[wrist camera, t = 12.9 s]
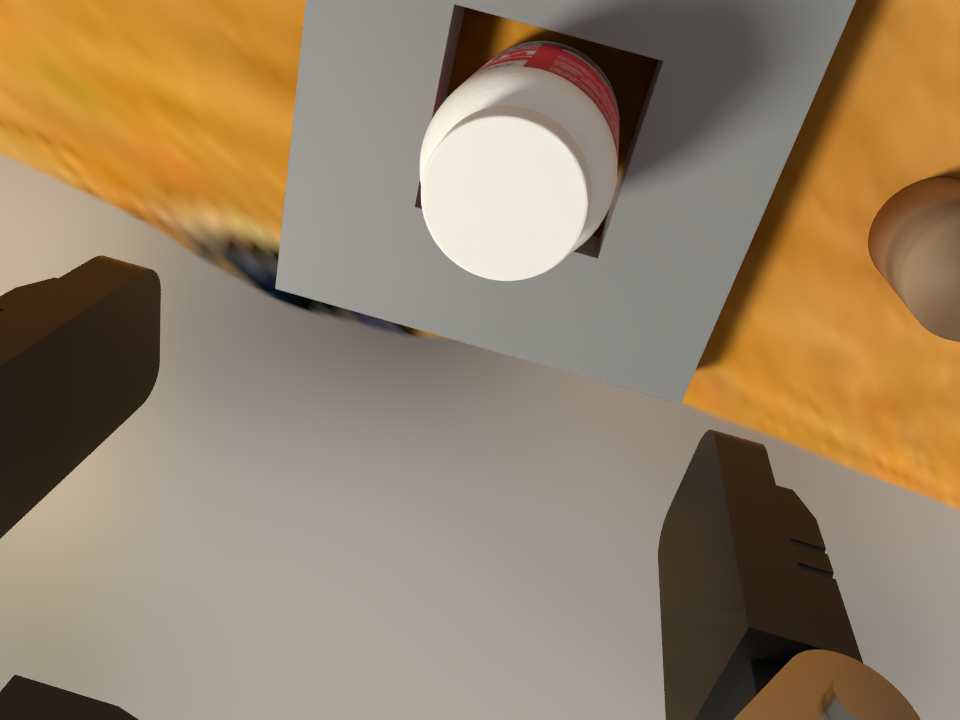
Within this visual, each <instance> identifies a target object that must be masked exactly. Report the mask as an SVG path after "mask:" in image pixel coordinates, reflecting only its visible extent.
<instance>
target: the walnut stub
mask: <svg viewBox="0 0 960 720" xmlns="http://www.w3.org/2000/svg"><path fill="white" fill-rule="evenodd" d="M868 247H869V253H870V256H871V259H872V261H873V263H874V265H875V267H876V268H877V269H878V271H879V272H880V273H881V274H882V276H883V277H884V278H885V279H886V281H887V282H888V283H889V285H890V286H891V287H892V288H893V290H894V291H895V292H896V293H897V295H898V296H899V297H900V299H901V300H902V301H903V302H904V304H905V305H906V306H907V307H908V309H909V310H910V311H911V313H912V314H913V315H914V316H915V318H916V319H917V320H918V321H919V323H920V324H921V325H922V326H923V327H924V328H925V329H927V330H928V331H930V332H931V333H933V334H935V335H937V336H939V337H942V338H944V339H947V340H952V341H958V342H960V179H959V178H954V177H934V178H928V179H925V180H921V181H918V182H915V183H913V184H911V185H909V186H907V187H905V188H903V189H902V190H900V191H899V192H897V193H896V194H895V195H893V196H892V197H891V198H890V199H889V200H888V201H887V202H886V203H885V204H884V205H883V206H882V208H881V209H880V210H879V212H878V213H877V215H876V217H875V218H874V221H873V223H872V225H871V228H870V232H869V238H868Z"/></svg>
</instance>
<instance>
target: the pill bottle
mask: <svg viewBox="0 0 960 720" xmlns="http://www.w3.org/2000/svg"><path fill="white" fill-rule="evenodd" d="M619 131H620V117H619V109H618V104H617V100H616V97H615V94H614V91H613V88H612V86H611V84H610V82H609V80H608V79H607V77H606V75H605V74H604V73H603V71H602V70H601V69H600V67H599V66H598V65H597V64H596V63H595V62H594V61H593V60H591V59H590V58H589V57H588V56H586V55H585V54H583V53H582V52H580V51H579V50H577V49H575V48H573V47H570V46H568V45H565V44H561V43H558V42H552V41H532V42H526V43H521V44H518V45H515V46H513V47H510V48H508V49H506V50H504V51H502V52H500V53H499V54H497V55H496V56H494V57H493V58H492V59H491V60H489V61H488V62H487V63H486V64H485V65H483V66H482V67H481V68H480V69H479V70H478V71H476V72H475V73H474V74H473V75H472V76H471V77H469V78H468V79H467V80H466V81H465V82H464V83H463V84H461V85H460V86H459V87H458V88H457V89H456V90H454V91H453V92H452V93H451V94H450V95H449V96H448V98H447V99H446V100H445V101H444V102H443V104H442V105H441V106H440V108H439V109H438V110H437V112H436V113H435V115H434V117H433V118H432V120H431V122H430V124H429V126H428V129H427V131H426V134H425V136H424V140H423V143H422V148H421V154H420V182H421V205H422V211H423V215H424V219H425V222H426V225H427V227H428V230H429V232H430V234H431V236H432V238H433V239H434V241H435V242H436V244H437V245H438V246H439V248H440V249H441V250H442V251H443V253H444V254H445V255H446V256H447V257H448V258H449V259H451V260H452V261H453V262H455V263H456V264H457V265H458V266H460V267H461V268H463V269H465V270H466V271H468V272H470V273H472V274H475V275H478V276H480V277H484V278H487V279H492V280H498V281H515V280H523V279H527V278H531V277H534V276H537V275H539V274H542V273H544V272H546V271H548V270H549V269H551V268H553V267H554V266H556V265H557V264H558V263H560V262H561V261H562V260H563V259H564V258H565V257H566V256H567V255H569V254H570V253H572V252H573V251H574V250H576V249H577V248H579V247H580V246H581V245H582V244H584V243H585V242H586V241H587V240H588V239H589V238H590V237H591V236H592V234H593V233H594V232H595V231H596V230H597V228H598V227H599V225H600V224H601V223H602V221H603V219H604V217H605V216H606V214H607V212H608V210H609V207H610V205H611V202H612V199H613V196H614V192H615V187H616V183H617V177H618V156H619Z"/></svg>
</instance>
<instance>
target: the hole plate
mask: <svg viewBox="0 0 960 720" xmlns="http://www.w3.org/2000/svg"><path fill="white" fill-rule="evenodd" d="M855 2H856V0H306V6H305V15H304V24H303V34H302V43H301V53H300V62H299V71H298V81H297V90H296V100H295V109H294V119H293V128H292V137H291V147H290V156H289V166H288V175H287V184H286V194H285V203H284V213H283V222H282V231H281V241H280V250H279V260H278V269H277V279H276V288H275V289H279V290H282V291H286V292H289V293H293V294H296V295H300V296H303V297H307V298H310V299H313V300H317V301H320V302H324V303H327V304H331V305H334V306H338V307H341V308H345V309H348V310H352V311H355V312H359V313H362V314H366V315H369V316H373V317H376V318H380V319H383V320H387V321H390V322H394V323H397V324H401V325H404V326H408V327H411V328H415V329H418V330H422V331H425V332H429V333H432V334H436V335H439V336H443V337H446V338H450V339H453V340H457V341H461V342H464V343H467V344H471V345H474V346H478V347H481V348H485V349H488V350H492V351H495V352H499V353H502V354H506V355H509V356H513V357H516V358H520V359H523V360H527V361H530V362H534V363H537V364H541V365H544V366H548V367H551V368H555V369H558V370H562V371H565V372H569V373H572V374H576V375H579V376H583V377H586V378H590V379H593V380H597V381H600V382H604V383H607V384H611V385H614V386H618V387H621V388H625V389H628V390H632V391H635V392H639V393H642V394H645V395H649V396H652V397H656V398H659V399H663V400H666V401H670V402H673V403H677V404H681V402H682V400H683V397H684V395H685V393H686V391H687V388H688V386H689V384H690V381H691V379H692V377H693V375H694V372H695V370H696V368H697V365H698V363H699V361H700V358H701V356H702V354H703V352H704V349H705V347H706V345H707V342H708V340H709V338H710V335H711V333H712V331H713V329H714V326H715V324H716V322H717V319H718V317H719V315H720V312H721V310H722V308H723V306H724V303H725V301H726V299H727V296H728V294H729V292H730V289H731V287H732V285H733V283H734V280H735V278H736V276H737V273H738V271H739V269H740V266H741V264H742V262H743V260H744V257H745V255H746V253H747V250H748V248H749V246H750V244H751V241H752V239H753V237H754V234H755V232H756V230H757V227H758V225H759V223H760V221H761V218H762V216H763V214H764V211H765V209H766V207H767V204H768V202H769V200H770V198H771V195H772V193H773V191H774V188H775V186H776V184H777V181H778V179H779V177H780V175H781V172H782V170H783V168H784V165H785V163H786V161H787V158H788V156H789V154H790V152H791V149H792V147H793V145H794V142H795V140H796V138H797V135H798V133H799V131H800V129H801V126H802V124H803V122H804V119H805V117H806V115H807V113H808V110H809V108H810V106H811V103H812V101H813V99H814V96H815V94H816V92H817V90H818V87H819V85H820V83H821V80H822V78H823V76H824V73H825V71H826V69H827V67H828V64H829V62H830V60H831V57H832V55H833V53H834V50H835V48H836V46H837V44H838V41H839V39H840V37H841V34H842V32H843V30H844V27H845V25H846V23H847V21H848V18H849V16H850V14H851V11H852V9H853V7H854V4H855ZM465 7H467V8H470V9H474V10H478V11H481V12H485V13H489V14H492V15H496V16H500V17H503V18H507V19H511V20H514V21H518V22H522V23H525V24H529V25H533V26H536V27H540V28H544V29H548V30H551V31H555V32H559V33H562V34H566V35H570V36H573V37H577V38H581V39H584V40H588V41H592V42H595V43H599V44H603V45H606V46H610V47H614V48H617V49H621V50H625V51H628V52H632V53H636V54H639V55H643V56H647V57H650V58H654V59H658V62H657V65H656V68H655V71H654V74H653V77H652V80H651V83H650V86H649V89H648V92H647V95H646V98H645V101H644V104H643V107H642V110H641V113H640V116H639V119H638V122H637V125H636V129H635V132H634V135H633V138H632V141H631V144H630V147H629V150H628V153H627V156H626V159H625V162H624V165H623V168H622V171H621V174H620V177H619V180H618V183H617V186H616V189H615V192H614V196H613V199H612V202H611V205H610V208H609V211H608V214H607V217H606V220H605V223H604V226H603V229H602V232H601V235H600V238H599V237H596V236H591V237H590V238H589V239H588V240H587V241H586V242H585V243H584V244H582V245H581V246H580V247H579V248H577V249H576V250H574V251H573V252H572V253H570V254H569V255H567V256H566V257H565V258H564V259H563V260H562V261H561V262H560V263H558V264H557V265H556V266H554V267H553V268H551V269H549V270H548V271H546V272H544V273H542V274H539V275H537V276H534V277H531V278H527V279H523V280H515V281H498V280H492V279H487V278H484V277H480V276H478V275H475V274H472V273H470V272H468V271H466V270H465V269H463V268H461V267H460V266H458V265H457V264H456V263H455V262H453V261H452V260H451V259H449V258H448V257H447V256H446V255H445V254H444V253H443V251H442V250H441V249H440V248H439V246H438V245H437V244H436V242H435V241H434V239H433V238H432V236H431V234H430V232H429V230H428V227H427V225H426V222H425V219H424V215H423V211H422V205H421V182H420V154H421V148H422V143H423V140H424V136H425V134H426V131H427V129H428V126H429V124H430V122H431V120H432V118H433V117H434V115H435V113H436V112H437V110H438V109H439V108H440V106H441V105H442V104H443V102H444V101H445V100H446V99H447V96H448V91H449V86H450V81H451V76H452V71H453V66H454V61H455V56H456V51H457V46H458V41H459V37H460V32H461V27H462V22H463V17H464V12H465Z"/></svg>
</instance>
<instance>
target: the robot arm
mask: <svg viewBox="0 0 960 720" xmlns="http://www.w3.org/2000/svg"><path fill="white" fill-rule="evenodd" d="M160 295H161V286H160V280H159V277H158V275H157V273H156V272H155V271H154V270H151V269H148V268H145V267H141V266H138V265H134V264H130V263H127V262H124V261H120V260H116V259H113V258H109V257H106V256H97V257H95V258H93V259H91V260H89V261H87V262H86V263H84V264H82V265H81V266H79V267H77V268H75V269H74V270H72V271H71V272H69V273H67V274H65V275H63V276H62V277H60V278H52V279H48V280H44V281H40V282H36V283H32V284H28V285H25V286H21V287H17V288H14V289H13V290H11V291H9V292H7V293H5V294H4V295H2V296H0V538H1V537H2V536H4V535H5V534H6V533H7V532H8V531H9V530H10V529H11V528H12V527H13V526H14V525H15V524H16V523H17V522H18V521H19V520H21V519H22V518H23V516H25V515H26V514H27V513H28V512H29V511H30V510H31V509H32V508H33V507H34V506H35V505H36V504H37V503H38V502H40V501H41V500H42V499H43V498H44V497H45V496H46V495H47V494H48V493H49V492H50V491H51V490H52V489H53V488H54V487H56V486H57V484H59V483H60V482H61V481H62V480H63V479H64V478H65V477H66V476H67V475H68V474H69V473H70V472H72V471H73V470H74V469H75V468H76V467H77V466H78V465H79V464H80V463H81V462H82V461H83V460H84V459H85V458H86V457H87V456H88V455H90V454H91V453H92V452H93V451H94V450H95V449H96V448H97V447H98V446H99V445H100V444H101V443H102V442H103V441H104V440H105V439H106V438H108V437H109V436H110V435H111V434H112V433H113V432H114V431H115V430H116V429H117V428H118V427H119V426H120V425H121V424H122V423H123V422H125V421H126V420H127V419H128V418H129V417H130V416H131V415H132V414H133V413H134V412H135V411H136V410H137V409H138V408H139V407H140V406H141V405H142V404H143V403H144V402H145V401H146V400H147V398H148V397H149V395H150V393H151V391H152V389H153V387H154V385H155V382H156V379H157V375H158V371H159V363H160V297H161V296H160ZM825 549H826V548H825V545H824V542H823V539H822V536H821V533H820V529H819V526H818V523H817V520H816V519H815V517H814V516H813V515H812V513H811V512H810V511H809V510H808V508H807V507H806V506H805V505H804V503H803V502H802V501H801V500H800V498H799V497H798V496H797V495H796V493H795V492H794V491H793V490H791V489H787V488H784V487H780V486H776V484H775V480H774V477H773V473H772V469H771V466H770V462H769V458H768V454H767V451H766V448H765V447H764V445H762V444H759V443H756V442H752V441H749V440H746V439H742V438H738V437H735V436H731V435H728V434H724V433H721V432H717V431H714V430H708V431H707V432H706V433H705V434H704V435H703V437H702V438H701V440H700V442H699V444H698V446H697V449H696V451H695V453H694V455H693V457H692V460H691V462H690V464H689V466H688V468H687V471H686V473H685V475H684V477H683V479H682V481H681V484H680V486H679V488H678V490H677V492H676V494H675V497H674V499H673V501H672V503H671V505H670V508H669V510H668V512H667V515H666V517H665V520H664V523H663V527H662V531H661V535H660V541H659V549H658V564H659V585H660V607H661V628H662V647H663V648H662V649H663V670H664V691H665V712H666V720H920V718H919V716H918V715H917V713H916V712H915V710H914V709H913V707H912V706H911V704H910V703H909V702H908V701H907V699H906V698H905V697H904V696H903V695H902V694H901V693H900V692H899V691H898V690H897V689H896V688H895V687H894V686H893V685H892V684H891V683H890V682H889V681H887V680H886V679H885V678H884V677H883V676H882V675H880V674H879V673H877V672H876V671H874V670H873V669H871V668H870V667H868V666H866V665H865V664H863V661H862V658H861V655H860V652H859V649H858V646H857V643H856V640H855V637H854V634H853V631H852V628H851V624H850V621H849V618H848V615H847V612H846V609H845V606H844V603H843V600H842V597H841V594H840V591H839V588H838V585H837V582H836V579H833V578H832V577H833V573H834V572H833V570H832V566H831V563H830V560H829V557H828V555H827V554H825ZM0 720H138V719H137V718H135V717H134V716H132V715H131V714H129V713H128V712H126V711H125V710H123V709H121V708H120V707H118V706H115V705H112V704H109V703H105V702H102V701H99V700H96V699H92V698H89V697H85V696H82V695H79V694H76V693H73V692H70V691H66V690H63V689H59V688H57V687H53V686H50V685H47V684H44V683H40V682H37V681H34V680H30V679H27V678H24V677H21V676H17V675H14V676H13V677H12V679H11V680H10V681H9V682H8V683H7V685H6V686H5V687H4V688H3V689H2V690H1V692H0Z"/></svg>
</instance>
